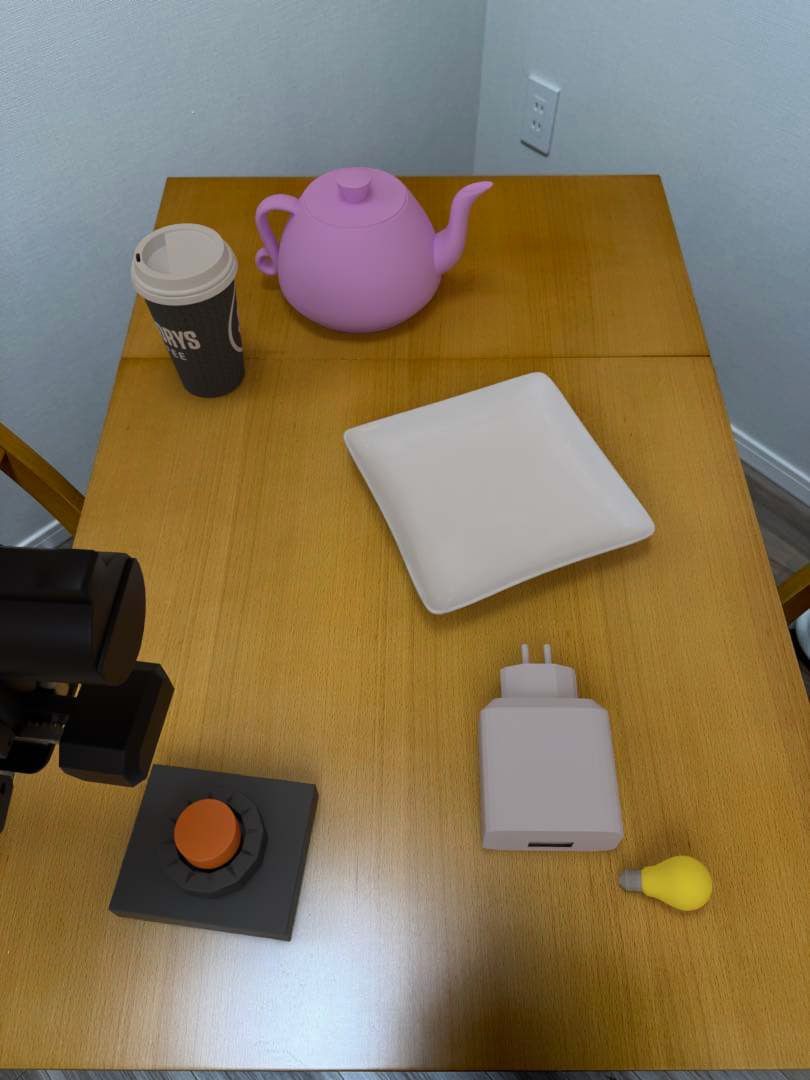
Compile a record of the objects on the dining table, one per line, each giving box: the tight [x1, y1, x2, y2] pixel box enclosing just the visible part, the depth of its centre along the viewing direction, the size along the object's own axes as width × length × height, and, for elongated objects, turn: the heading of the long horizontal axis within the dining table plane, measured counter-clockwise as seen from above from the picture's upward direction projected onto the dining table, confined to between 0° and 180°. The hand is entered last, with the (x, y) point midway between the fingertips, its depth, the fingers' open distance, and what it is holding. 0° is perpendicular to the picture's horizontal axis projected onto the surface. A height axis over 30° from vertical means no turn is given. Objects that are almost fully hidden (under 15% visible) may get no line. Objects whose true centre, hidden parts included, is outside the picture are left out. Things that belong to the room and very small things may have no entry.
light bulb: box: [618, 854, 714, 912], centre depth 57 cm, size 3×6×4 cm, turn 84°
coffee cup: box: [130, 222, 246, 399], centre depth 81 cm, size 10×10×15 cm
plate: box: [342, 371, 656, 616], centre depth 76 cm, size 21×21×3 cm
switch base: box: [107, 763, 320, 942], centre depth 59 cm, size 12×10×4 cm
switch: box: [174, 799, 241, 869], centre depth 56 cm, size 4×4×2 cm
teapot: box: [254, 166, 494, 334], centre depth 89 cm, size 25×18×14 cm
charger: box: [477, 643, 625, 852], centre depth 62 cm, size 5×9×15 cm
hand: (41, 759), depth 52 cm, fingers closed
